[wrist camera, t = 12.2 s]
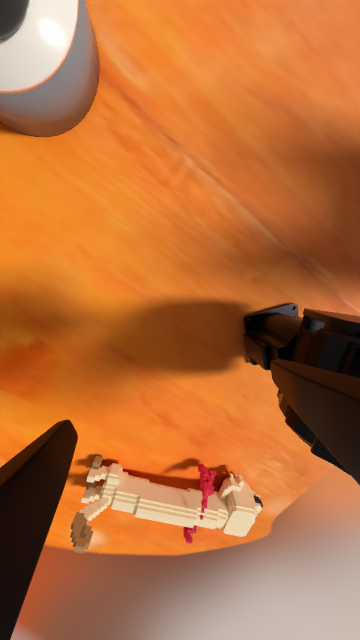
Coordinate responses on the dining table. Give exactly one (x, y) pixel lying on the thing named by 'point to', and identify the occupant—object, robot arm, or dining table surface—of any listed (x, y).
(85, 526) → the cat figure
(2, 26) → the supplement bottle
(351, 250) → the dining table surface
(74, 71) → the white round pedestal
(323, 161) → the dining table surface
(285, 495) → the dining table surface
